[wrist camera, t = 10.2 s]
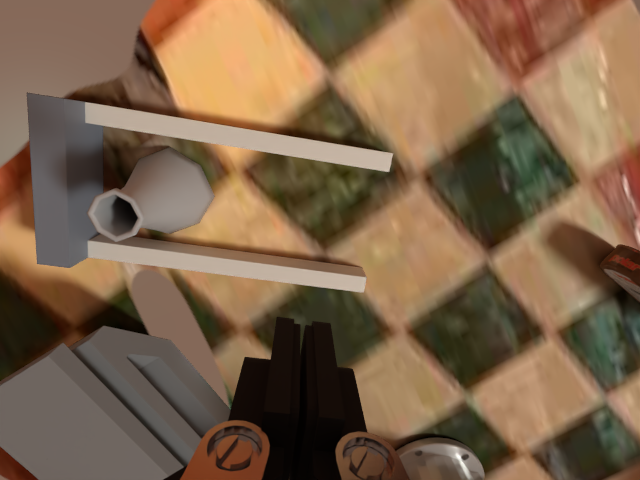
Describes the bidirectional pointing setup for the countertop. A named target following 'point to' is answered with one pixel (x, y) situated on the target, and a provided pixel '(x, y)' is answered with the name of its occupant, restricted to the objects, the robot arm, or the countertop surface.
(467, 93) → the countertop surface
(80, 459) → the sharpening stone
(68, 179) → the stop block
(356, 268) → the guide rails
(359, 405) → the robot arm
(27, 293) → the countertop surface
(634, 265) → the tin
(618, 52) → the countertop surface
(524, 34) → the countertop surface
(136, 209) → the flask
